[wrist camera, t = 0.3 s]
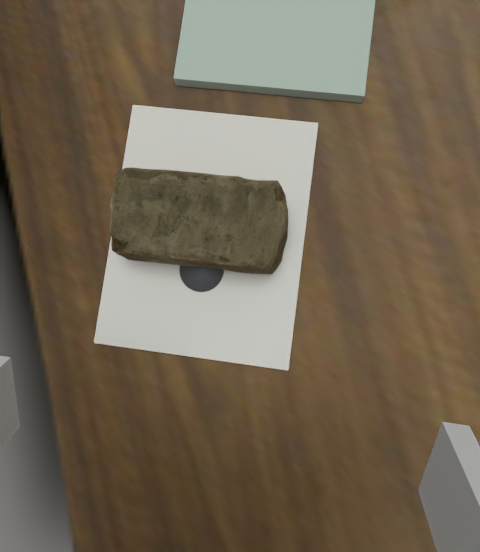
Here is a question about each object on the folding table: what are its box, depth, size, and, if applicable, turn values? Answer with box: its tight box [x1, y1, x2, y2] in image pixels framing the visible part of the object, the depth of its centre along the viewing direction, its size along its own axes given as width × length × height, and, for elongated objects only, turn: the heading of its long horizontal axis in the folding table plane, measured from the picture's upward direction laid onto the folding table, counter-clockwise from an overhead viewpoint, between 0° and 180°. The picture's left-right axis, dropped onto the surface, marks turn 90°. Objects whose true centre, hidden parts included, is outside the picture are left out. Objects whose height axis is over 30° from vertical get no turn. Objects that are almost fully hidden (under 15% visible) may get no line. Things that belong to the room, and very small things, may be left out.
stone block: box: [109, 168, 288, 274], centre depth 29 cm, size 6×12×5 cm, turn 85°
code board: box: [94, 105, 318, 370], centre depth 32 cm, size 18×14×1 cm
